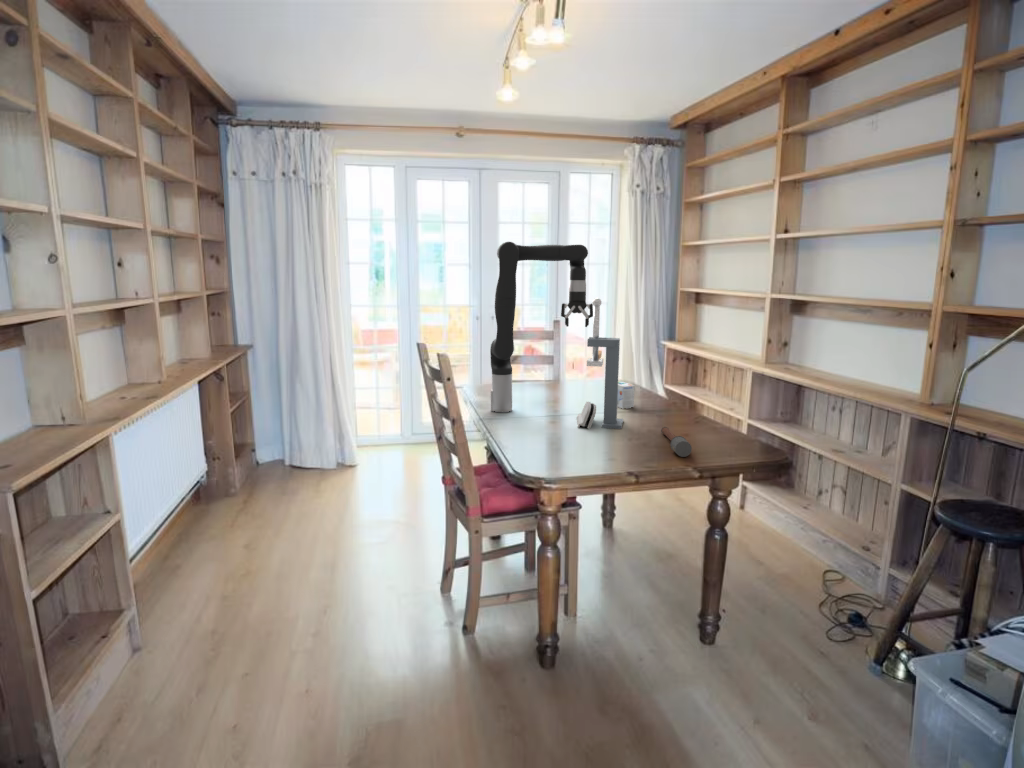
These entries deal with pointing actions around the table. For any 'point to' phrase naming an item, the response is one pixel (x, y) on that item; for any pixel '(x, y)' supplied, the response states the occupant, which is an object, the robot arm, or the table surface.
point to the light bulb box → (625, 395)
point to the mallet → (677, 443)
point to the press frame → (610, 380)
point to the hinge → (586, 415)
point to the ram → (596, 336)
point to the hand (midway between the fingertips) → (576, 326)
